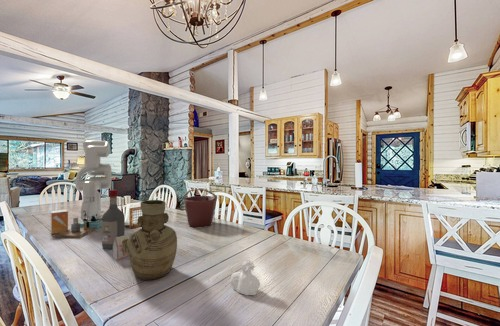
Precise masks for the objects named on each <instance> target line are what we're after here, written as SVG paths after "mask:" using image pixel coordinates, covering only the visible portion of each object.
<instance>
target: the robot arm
mask: <svg viewBox="0 0 500 326" xmlns="http://www.w3.org/2000/svg"><path fill="white" fill-rule="evenodd" d="M82 147H83V151H84V166H82V168H81V169H79V171H78V172H77V174H76V176H75V189H76V191H78V192H82V203H81V208H80V209H81V210H80V219H81V220H82V222H84V221H86V228H89V221H97V220H100V219H101V220H102V216H103V215H102V214H104V213H105V211H104V210H102V207H101V205H102V202H101V201H102V200H101V199H102V197H101V196H102V195H101V193H100V191H98V190H108V189H111V188H112V182H113V181H112V166H111V164H109V163H102V162H101V158H107V157H108V156H110V149H111V147H110V142H109V141H107V140H97V139H94V140H93V139H92V140H91V139H90V140H85V141H83V142H82ZM86 173H87V175H89V177H87V178H85V179H82V177H83V176H84V175H85V174H86Z"/></svg>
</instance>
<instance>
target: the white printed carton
mask: <svg viewBox="0 0 500 326" xmlns="http://www.w3.org/2000/svg"><path fill="white" fill-rule="evenodd" d="M130 236H131V234H124V236H121V237H117V238H115V240H114V244H113V249H112V259H114V260H115V261H118V260H123V259H125V258H128V256H127V252H125V253H123V252H122V246H123V244H122V241H123V240H126V239H129V237H130Z"/></svg>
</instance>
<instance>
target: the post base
mask: <svg viewBox="0 0 500 326" xmlns="http://www.w3.org/2000/svg"><path fill="white" fill-rule="evenodd" d="M80 223H81V222H79V217H78V216H74V217H73V218H72V224H70V226H71V227H70V228H68V230H66V231H64V232H61V233H55V235H54V238H58V239H59V238H61V239H63V238H64V239H66V238H69V239H70V238H71V239H80V238H81V237H84V236H86V235H88V234H90V233H92V232H94V231H96V228H86V221H84V228H80Z"/></svg>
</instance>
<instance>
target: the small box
mask: <svg viewBox="0 0 500 326" xmlns="http://www.w3.org/2000/svg"><path fill="white" fill-rule="evenodd" d="M66 230H69V211H68V209H61V210H60V209H59V210H53V211H51V210H50V233H51V235H53V234H59V233H61V232H64V231H66Z"/></svg>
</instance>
